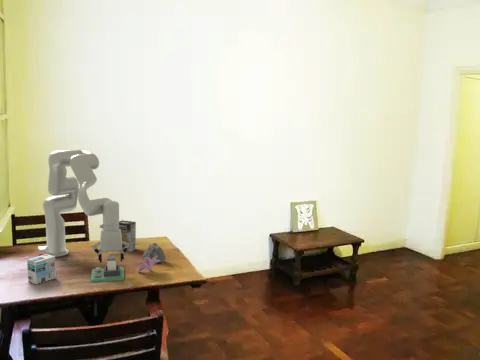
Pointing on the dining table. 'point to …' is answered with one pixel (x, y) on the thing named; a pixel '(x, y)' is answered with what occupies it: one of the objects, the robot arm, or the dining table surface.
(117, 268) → the board
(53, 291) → the dining table surface
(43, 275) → the light bulb box
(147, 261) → the lily
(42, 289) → the dining table surface
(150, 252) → the mineral rock
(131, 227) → the coffee box
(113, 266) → the plug
